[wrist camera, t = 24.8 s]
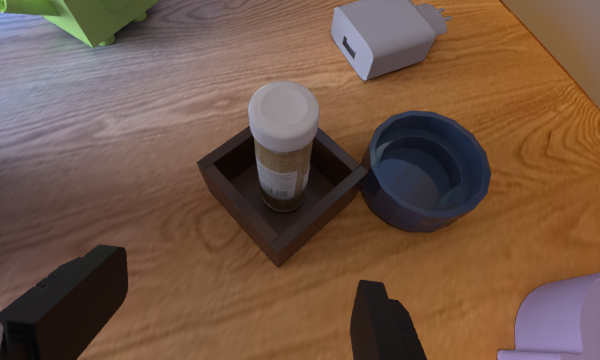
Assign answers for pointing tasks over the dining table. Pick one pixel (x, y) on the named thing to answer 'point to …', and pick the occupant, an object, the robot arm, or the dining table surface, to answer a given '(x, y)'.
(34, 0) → the kettle
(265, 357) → the dining table surface
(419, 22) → the charger
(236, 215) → the box
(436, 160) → the bowl
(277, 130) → the sprinkles bottle
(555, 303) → the clip
